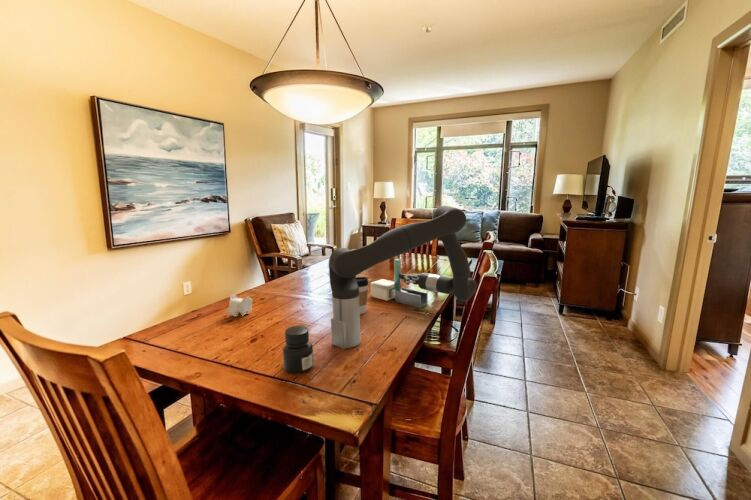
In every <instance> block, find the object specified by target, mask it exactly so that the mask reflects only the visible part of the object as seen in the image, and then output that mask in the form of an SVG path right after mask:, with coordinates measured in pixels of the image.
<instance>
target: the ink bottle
mask: <svg viewBox="0 0 751 500" xmlns="http://www.w3.org/2000/svg"><path fill="white" fill-rule="evenodd" d="M284 337H285V339H284V340H285V345H284V346H283V348H282V357H283V358H282V359H283V369H284V372H286V373H287V372H288V374H290V373H292V375H299V373H301V374H304V372H305V373H307V371H308V372H309V371H310V370H312V369H313V367H314V366H315V363H314V361H315V360H314V346H313V343H312V342H310V339H309V338H310V337H309V327H307V326H305V325H294V326H290V327H287V328H286V329H285V332H284Z"/></svg>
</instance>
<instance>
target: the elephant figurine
mask: <svg viewBox="0 0 751 500" xmlns="http://www.w3.org/2000/svg"><path fill="white" fill-rule="evenodd" d="M253 302H254V300H253V299H252V298H251V297H250V296H247V295H246V296H245V297H244V298H241V297H238V295H237V294H236V293H232V294H231V295H230V298H229V302H228V308H227V309H226V310H225V312H224V314H226V313H228V315H229V316H232V317H238V316H239V315H240V314H241V315H245V314H246V313H250V312H251V313H252V311H253V307H252V305H253ZM239 312H240V313H239ZM236 313H239V315H238V314H236ZM241 315H240V316H241Z"/></svg>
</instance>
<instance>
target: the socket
mask: <svg viewBox="0 0 751 500" xmlns="http://www.w3.org/2000/svg"><path fill="white" fill-rule="evenodd" d="M392 288H394V280H389V279H384V278H380V279H378V280H375V281H372V282H370V297H372V298H376V299H379V300H383V301H389V300H392V299H394V298H392V297H389V289H392Z"/></svg>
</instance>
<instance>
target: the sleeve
mask: <svg viewBox="0 0 751 500" xmlns="http://www.w3.org/2000/svg"><path fill="white" fill-rule="evenodd" d="M401 290H405V291H408V293H407V292H403V291H399V290H395V298H394V300H395V302H396V303H400V304H403V305H406V306H409V307H410V306H411V307H414V308H417V309H422V308H424V307H426V306H427V305H428V292H425V291H420V290H416V289H412V288H409V287H408V288H407V287H401Z"/></svg>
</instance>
